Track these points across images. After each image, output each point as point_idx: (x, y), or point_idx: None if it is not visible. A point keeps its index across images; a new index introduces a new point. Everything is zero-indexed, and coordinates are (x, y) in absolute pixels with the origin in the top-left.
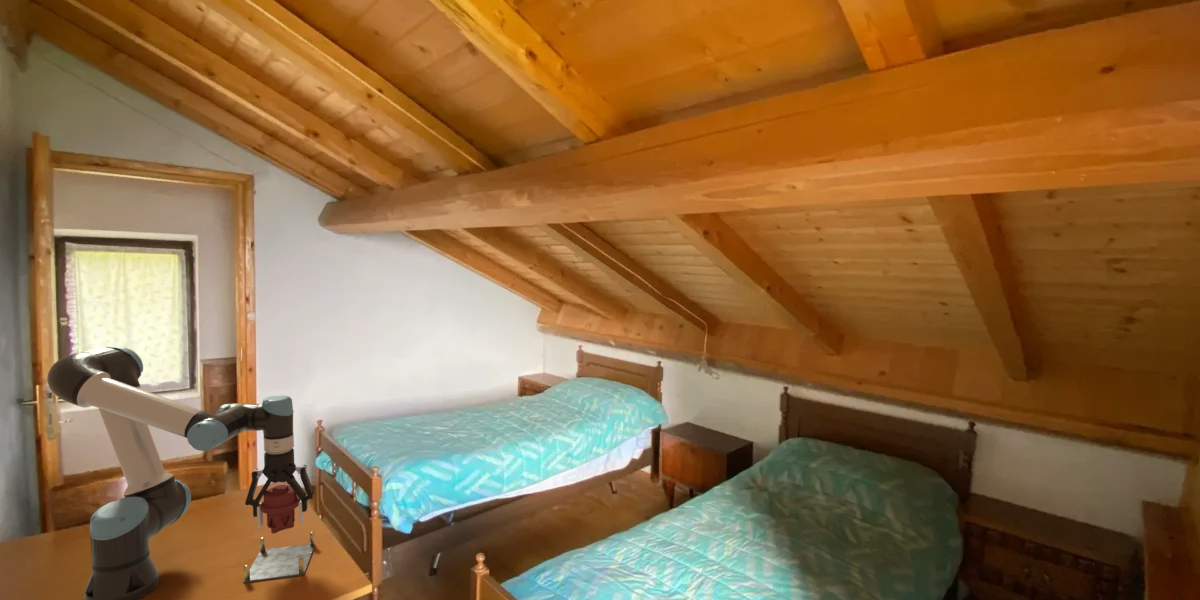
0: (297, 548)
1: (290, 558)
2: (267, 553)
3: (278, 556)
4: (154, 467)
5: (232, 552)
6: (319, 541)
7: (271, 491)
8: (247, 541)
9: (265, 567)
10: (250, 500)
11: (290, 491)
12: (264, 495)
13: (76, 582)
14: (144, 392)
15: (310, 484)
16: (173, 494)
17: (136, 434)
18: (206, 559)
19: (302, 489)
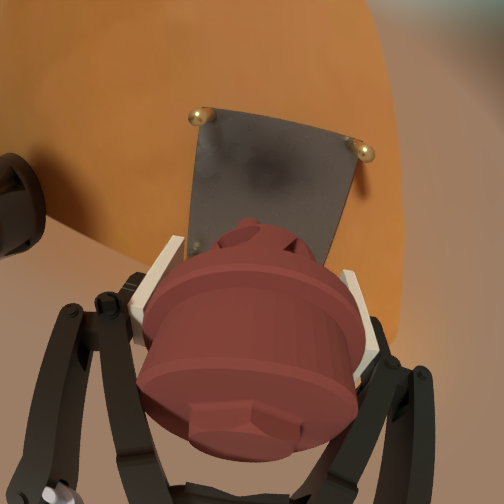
0: (311, 147)
1: (289, 201)
2: (224, 140)
3: (256, 174)
4: None
5: (131, 90)
6: (374, 123)
7: (183, 415)
8: (161, 34)
9: (226, 222)
10: (90, 363)
11: (307, 443)
12: (156, 421)
13: None
14: None
15: (429, 432)
16: None
17: None
18: (84, 114)
19: (386, 409)
